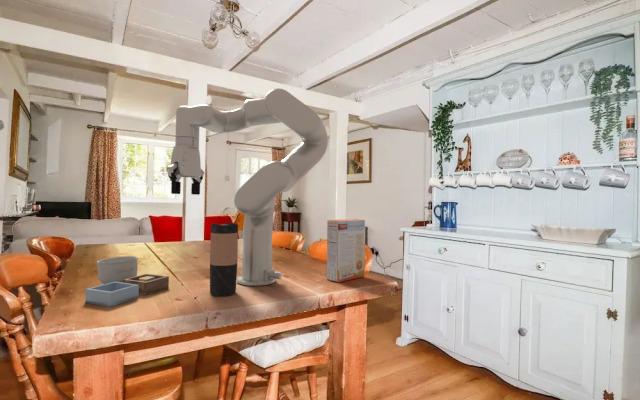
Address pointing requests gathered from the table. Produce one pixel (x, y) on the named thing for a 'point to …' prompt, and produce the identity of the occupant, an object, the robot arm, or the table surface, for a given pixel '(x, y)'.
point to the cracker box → (345, 249)
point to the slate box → (111, 293)
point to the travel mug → (223, 259)
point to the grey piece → (117, 269)
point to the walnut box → (149, 283)
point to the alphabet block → (146, 278)
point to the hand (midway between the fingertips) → (186, 194)
